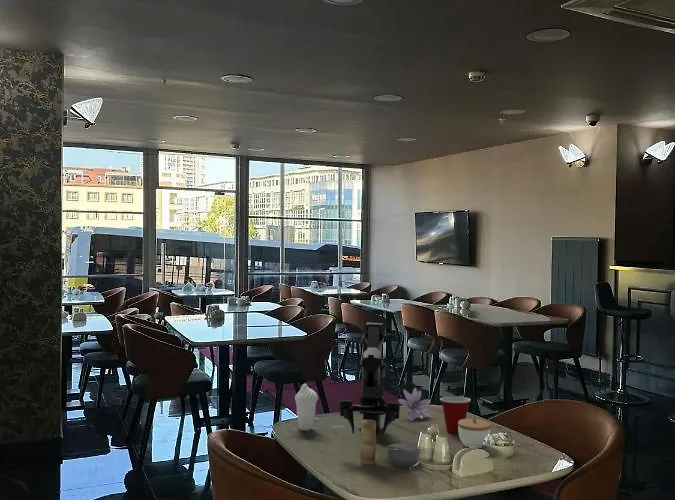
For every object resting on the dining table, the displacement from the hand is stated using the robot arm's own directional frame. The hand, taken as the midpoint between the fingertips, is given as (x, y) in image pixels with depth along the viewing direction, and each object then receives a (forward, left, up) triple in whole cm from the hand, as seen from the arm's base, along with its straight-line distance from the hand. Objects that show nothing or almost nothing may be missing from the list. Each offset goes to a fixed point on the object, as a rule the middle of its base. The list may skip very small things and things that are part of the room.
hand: (368, 433), depth 196 cm
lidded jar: (-36, +16, -9) cm, 41 cm away
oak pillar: (+1, 0, -8) cm, 8 cm away
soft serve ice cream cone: (-11, -37, -9) cm, 39 cm away
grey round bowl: (-7, +8, -8) cm, 14 cm away
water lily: (-52, -17, -9) cm, 55 cm away
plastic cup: (-46, +3, -9) cm, 47 cm away
